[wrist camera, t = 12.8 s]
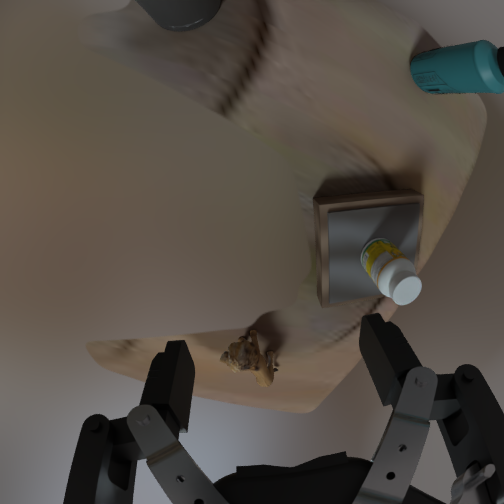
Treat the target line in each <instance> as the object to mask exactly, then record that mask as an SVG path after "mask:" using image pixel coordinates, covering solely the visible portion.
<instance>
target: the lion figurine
mask: <svg viewBox="0 0 504 504" xmlns="http://www.w3.org/2000/svg"><path fill="white" fill-rule="evenodd" d="M250 337H251V339H252V342H249V341H247V340H246V339H245V338H243V337H241V338H239V339H238V342H236V343H235V342H234V343H231V345H229V347H228V350H229V352H227V351H225V352H224V354H222V355H221V358H220V361H221V362H223V363H226V364H227V365H228V366H230V369H231V370H233V372H235V373H236V372H237V371H246V370H250V371H251V372H252V373H253V374H254V375H255V376H256V380H257V383H258V384H259V385H260V386H265V387H268V386H270V385H271V383H272V382H273V378H274V372H276V371H278V369H277V368H274V369H273V365H272V363H273V359H272V358H273V351H268V352H267V355H268V359H269V361H268V363H269V364H268V367H267V364H266V361H265V359H264V357H263V356H262V355H261V354H260V350H259V345H258V341H257V331H256V330H251V331H250Z"/></svg>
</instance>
